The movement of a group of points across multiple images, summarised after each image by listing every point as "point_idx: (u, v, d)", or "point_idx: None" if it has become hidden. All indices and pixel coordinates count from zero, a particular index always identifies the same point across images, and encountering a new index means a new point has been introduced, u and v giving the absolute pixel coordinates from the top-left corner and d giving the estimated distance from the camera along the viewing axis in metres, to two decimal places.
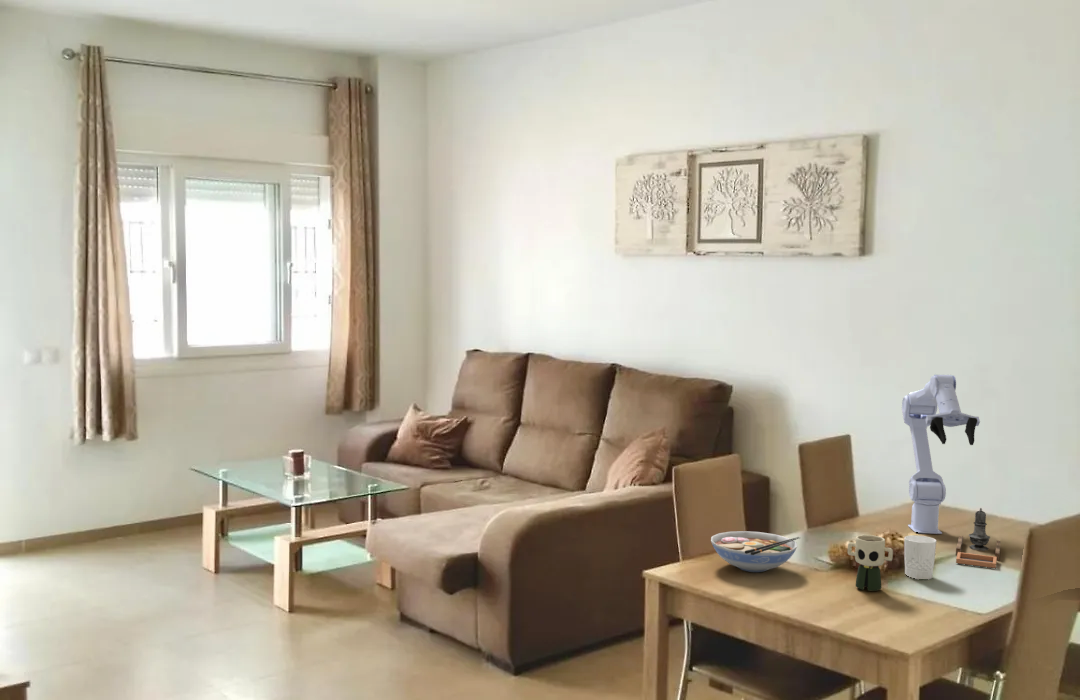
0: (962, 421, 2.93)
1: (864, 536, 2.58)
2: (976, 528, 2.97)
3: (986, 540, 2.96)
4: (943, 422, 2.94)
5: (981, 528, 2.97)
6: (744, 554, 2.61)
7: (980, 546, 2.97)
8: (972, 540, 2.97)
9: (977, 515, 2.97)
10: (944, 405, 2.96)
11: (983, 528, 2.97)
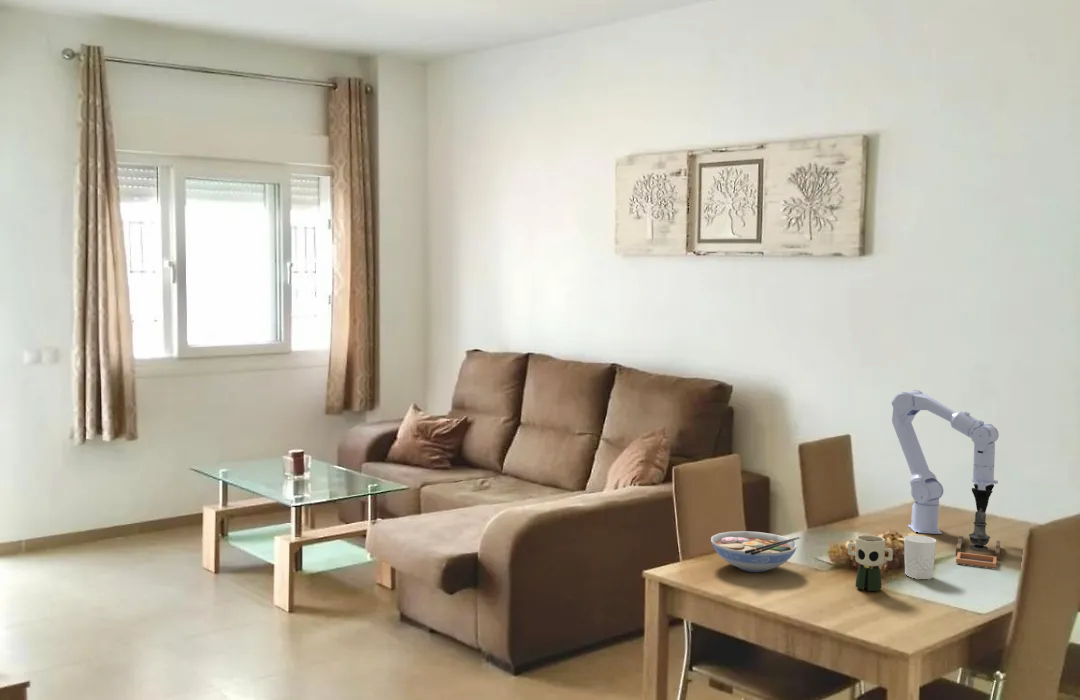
0: None
1: (864, 536, 2.58)
2: (976, 528, 2.97)
3: (986, 540, 2.96)
4: None
5: (981, 528, 2.97)
6: (744, 554, 2.61)
7: (980, 546, 2.97)
8: (972, 540, 2.97)
9: (977, 515, 2.97)
10: (990, 471, 3.02)
11: (983, 528, 2.97)
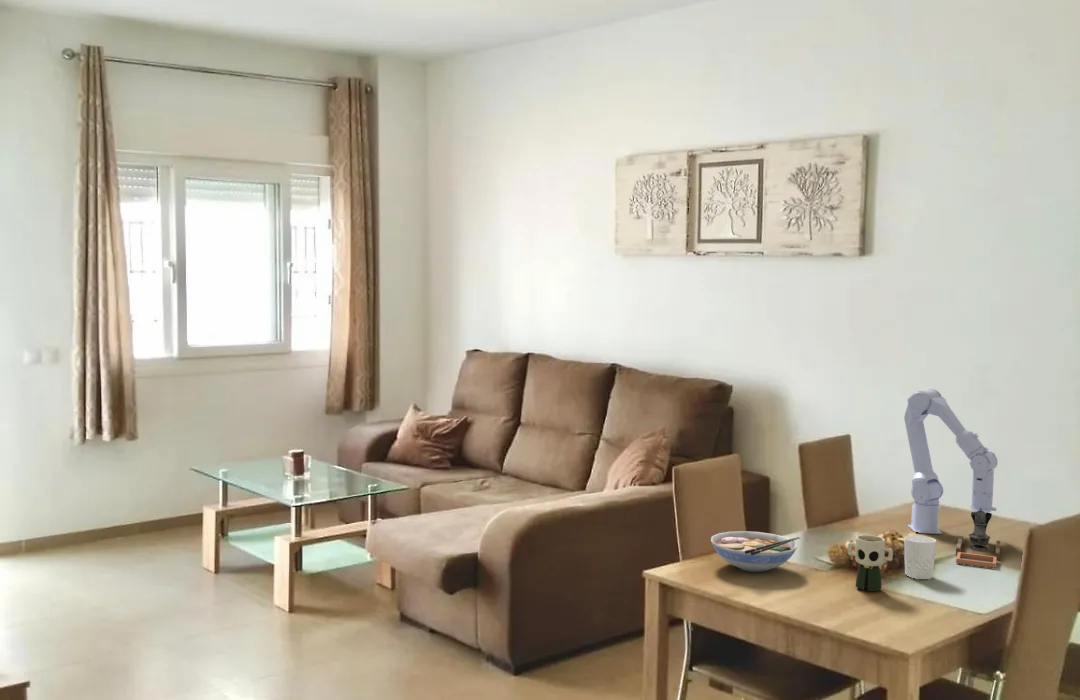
0: None
1: (864, 536, 2.58)
2: (976, 528, 2.97)
3: (986, 540, 2.96)
4: None
5: (981, 528, 2.97)
6: (744, 554, 2.61)
7: (980, 546, 2.97)
8: (972, 540, 2.97)
9: (977, 515, 2.97)
10: (989, 498, 3.03)
11: (983, 528, 2.97)
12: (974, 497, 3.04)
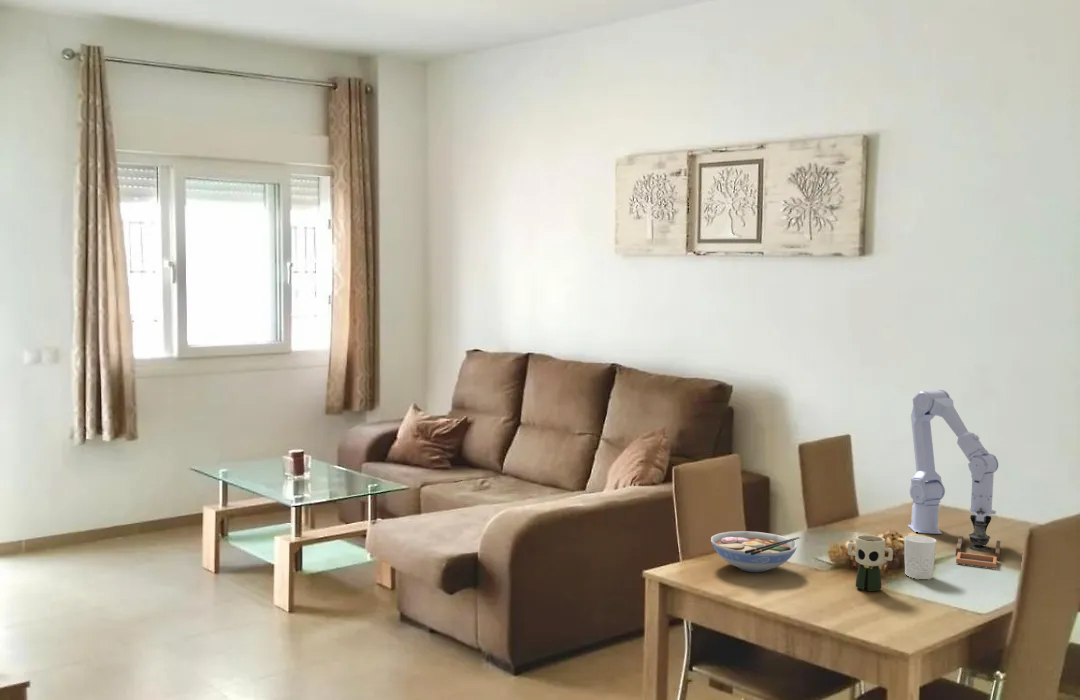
0: None
1: (864, 536, 2.58)
2: (976, 528, 2.97)
3: (986, 540, 2.96)
4: None
5: (981, 528, 2.96)
6: (744, 554, 2.61)
7: (980, 546, 2.97)
8: (972, 540, 2.97)
9: None
10: (988, 501, 2.98)
11: (983, 528, 2.97)
12: (973, 500, 3.00)
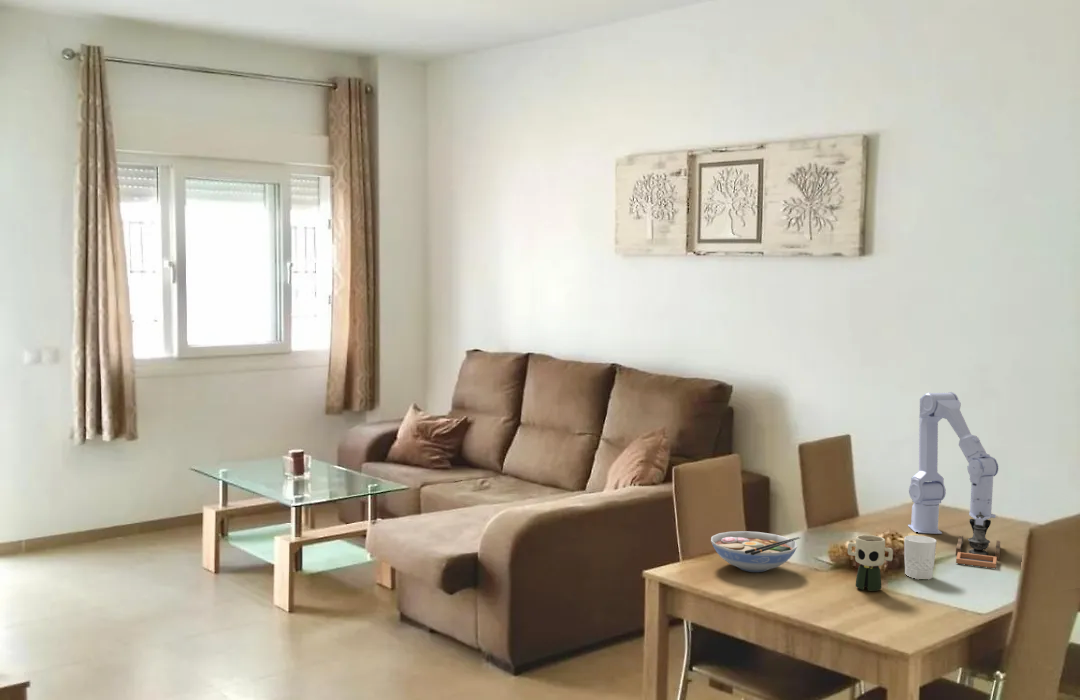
0: None
1: (864, 536, 2.58)
2: (975, 532, 2.92)
3: (986, 544, 2.91)
4: None
5: (981, 532, 2.91)
6: (744, 554, 2.61)
7: (980, 550, 2.92)
8: (971, 544, 2.92)
9: None
10: (988, 505, 2.93)
11: (983, 532, 2.91)
12: (973, 503, 2.95)
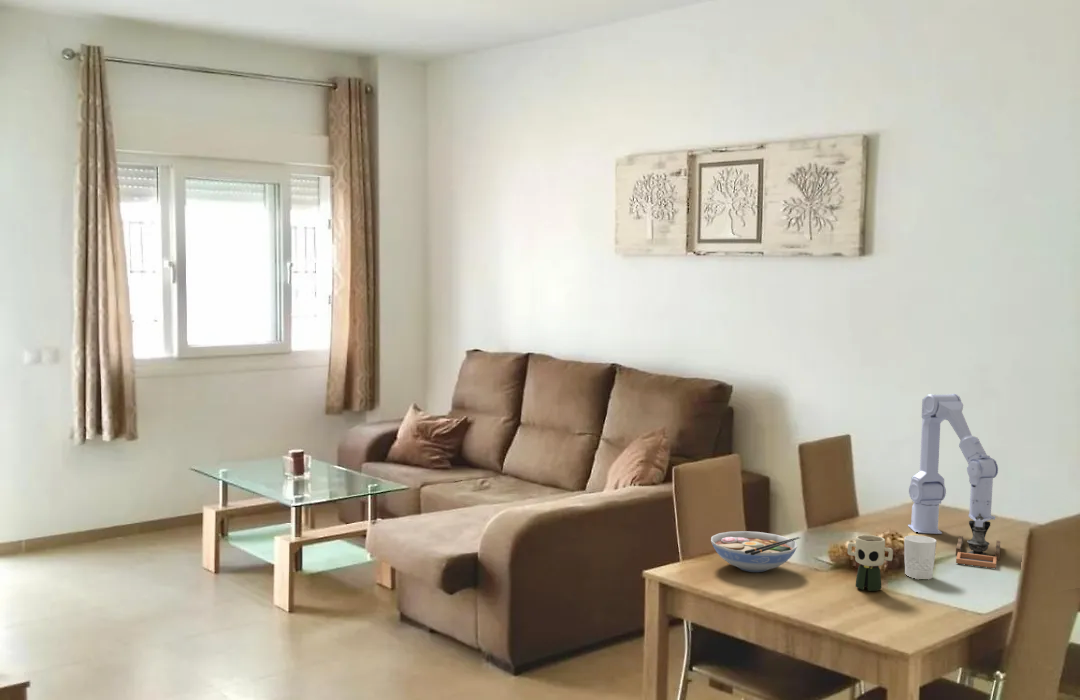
0: None
1: (864, 536, 2.58)
2: (975, 534, 2.90)
3: (985, 546, 2.89)
4: None
5: (980, 534, 2.89)
6: (744, 554, 2.61)
7: (979, 552, 2.90)
8: (971, 546, 2.90)
9: None
10: (988, 507, 2.91)
11: (982, 534, 2.89)
12: (972, 505, 2.93)
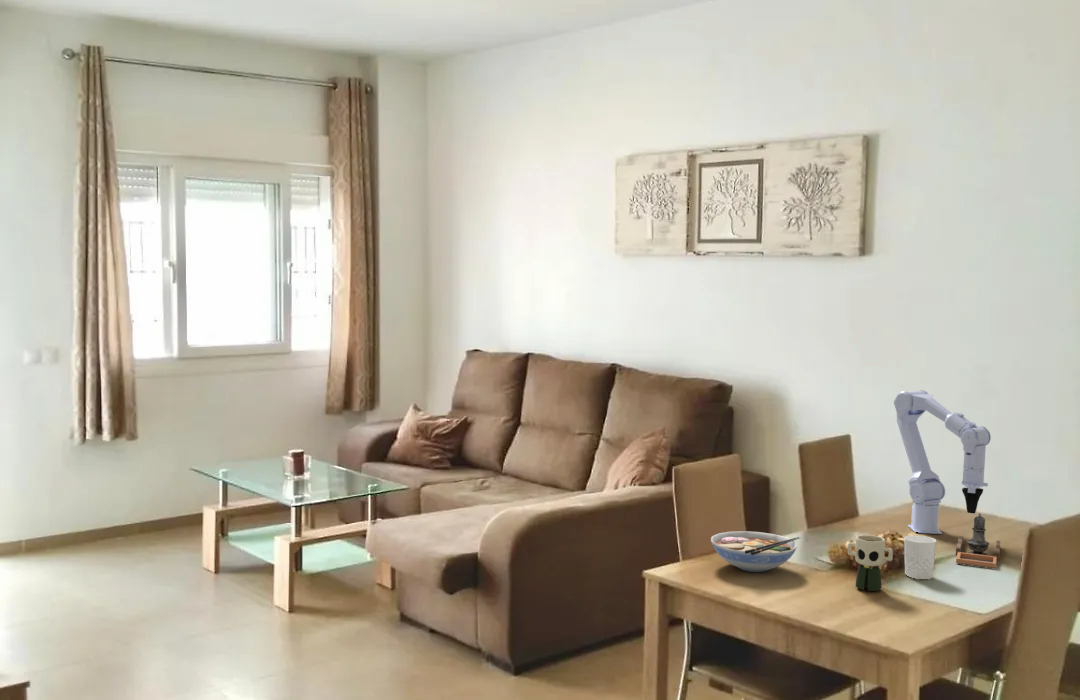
0: None
1: (864, 536, 2.58)
2: (975, 534, 2.90)
3: (985, 546, 2.89)
4: None
5: (980, 534, 2.89)
6: (744, 554, 2.61)
7: (979, 552, 2.90)
8: (971, 546, 2.90)
9: (976, 521, 2.90)
10: (980, 474, 2.99)
11: (982, 534, 2.89)
12: (965, 472, 3.01)
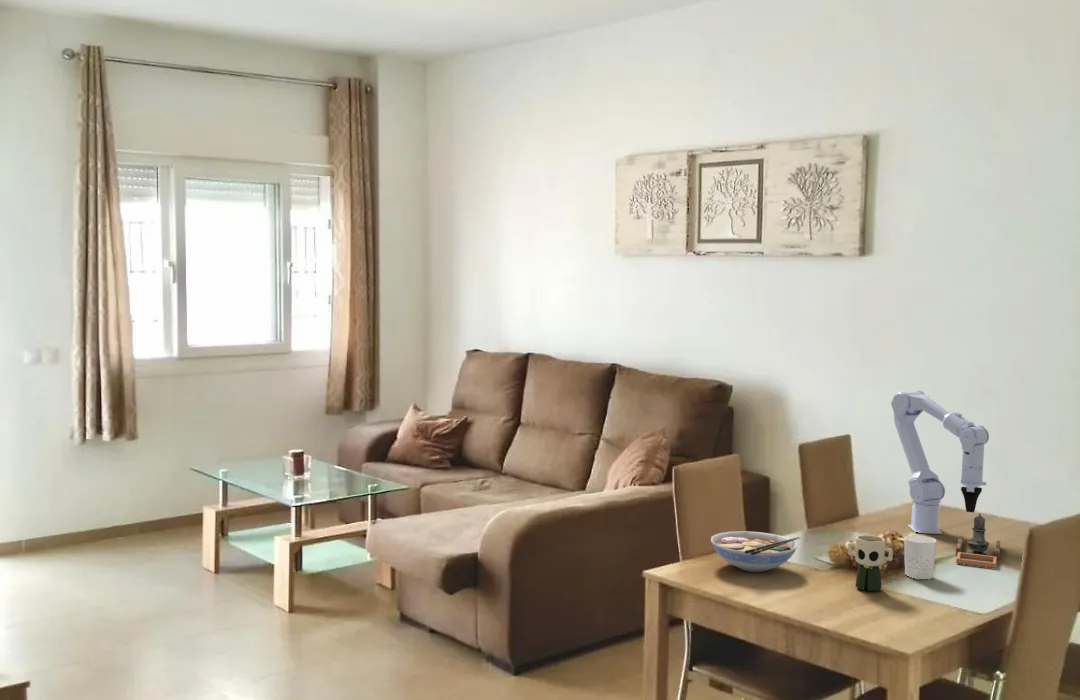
0: None
1: (864, 536, 2.58)
2: (975, 534, 2.90)
3: (985, 546, 2.89)
4: None
5: (980, 534, 2.89)
6: (744, 554, 2.61)
7: (979, 552, 2.90)
8: (971, 546, 2.90)
9: (976, 521, 2.90)
10: (979, 473, 3.00)
11: (982, 534, 2.89)
12: (964, 471, 3.02)
